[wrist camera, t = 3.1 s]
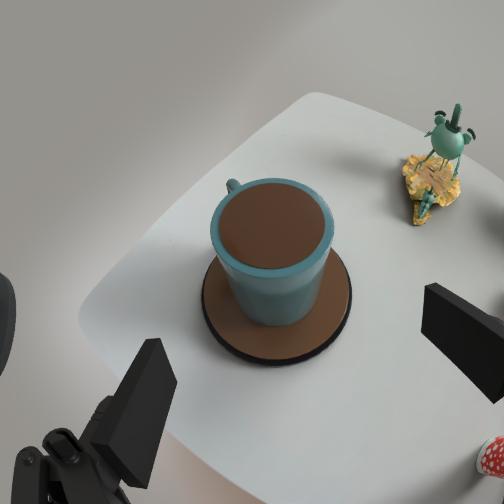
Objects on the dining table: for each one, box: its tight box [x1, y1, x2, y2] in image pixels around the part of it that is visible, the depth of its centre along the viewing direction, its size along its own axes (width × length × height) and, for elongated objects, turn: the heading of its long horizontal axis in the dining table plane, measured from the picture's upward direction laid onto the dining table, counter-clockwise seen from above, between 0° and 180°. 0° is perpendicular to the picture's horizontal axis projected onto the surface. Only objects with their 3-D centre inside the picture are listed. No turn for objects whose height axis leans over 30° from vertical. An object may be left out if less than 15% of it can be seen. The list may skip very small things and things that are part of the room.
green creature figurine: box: [402, 104, 476, 225], centre depth 28 cm, size 10×18×15 cm, turn 128°
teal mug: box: [204, 178, 349, 361], centre depth 22 cm, size 14×14×11 cm
